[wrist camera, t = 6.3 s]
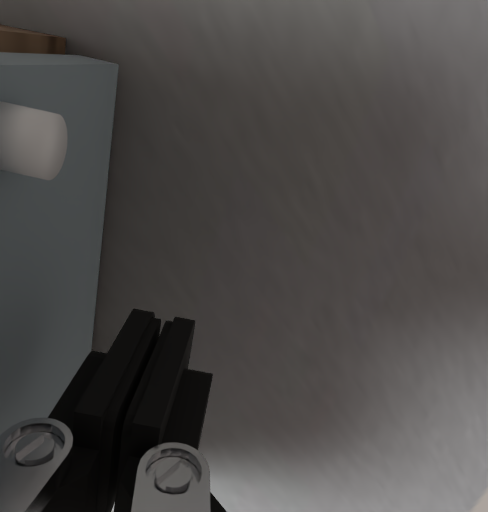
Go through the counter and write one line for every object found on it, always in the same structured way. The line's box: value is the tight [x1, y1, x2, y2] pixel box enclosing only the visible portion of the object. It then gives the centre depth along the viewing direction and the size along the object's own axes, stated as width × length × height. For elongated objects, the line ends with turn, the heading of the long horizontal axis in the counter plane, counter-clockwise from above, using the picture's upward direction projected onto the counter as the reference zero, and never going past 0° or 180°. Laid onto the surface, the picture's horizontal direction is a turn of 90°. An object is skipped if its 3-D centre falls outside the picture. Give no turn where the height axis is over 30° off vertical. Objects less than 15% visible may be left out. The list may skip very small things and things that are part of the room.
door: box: [0, 52, 119, 435], centre depth 12 cm, size 17×2×12 cm, turn 168°
